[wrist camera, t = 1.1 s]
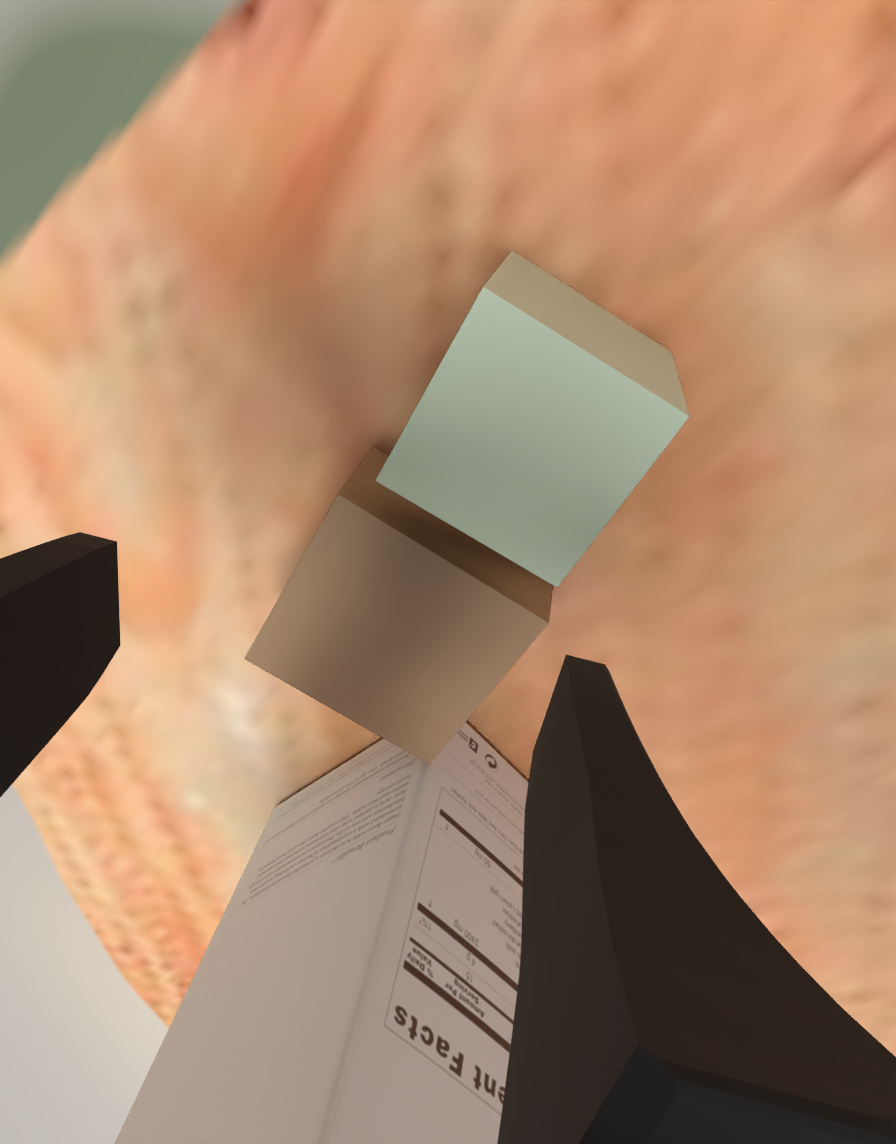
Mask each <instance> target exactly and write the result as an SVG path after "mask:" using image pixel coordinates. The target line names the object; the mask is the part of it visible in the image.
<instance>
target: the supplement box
mask: <svg viewBox="0 0 896 1144" xmlns="http://www.w3.org/2000/svg"><path fill="white" fill-rule="evenodd" d="M527 789H528V782H527V781H526V780H525V779H524V778H523V777H522V776H521V775H520V774H519V773H518V772H517V771H516V770H515V769H514V768H513V767H512V766H511V765H510V764H509V763H508V762H507V761H506V760H505V759H504V758H503V757H501V756H500V755H499V754H498V753H497V752H496V751H495V750H494V749H493V748H492V747H491V746H490V745H489V744H488V743H487V742H486V741H485V740H484V739H483V738H482V737H481V736H480V735H479V734H478V733H477V732H476V731H475V730H474V729H473V728H471V727H470V726H469V725H468V724H467V723H466V722H465V723H464V724H463V726H462V727H461V728H460V729H459V730H458V732H457V733H456V734H455V735H454V736H453V738H452V739H451V740H450V741H449V742H448V744H447V745H446V746H445V747H444V748H443V749H442V751H441V752H440V753H439V754H438V755H437V757H436V758H435V759H434V760H433V761H432V763H431V764H430V765H429V764H427V763H426V762H424V761H422V760H420V759H419V758H417V757H415V756H413V755H412V754H410V753H408V752H406V751H405V750H403V749H401V748H399V747H398V746H396V745H394V744H392V743H391V742H389V741H387V740H385V739H384V738H383V739H382V740H380V741H379V742H377V743H376V744H374V745H372V746H371V747H369V748H368V749H366V750H364V751H363V752H361V753H360V754H358V755H357V756H355V757H353V758H352V759H350V760H349V761H347V762H345V763H344V764H342V765H341V766H339V767H338V768H336V769H334V770H333V771H331V772H330V773H328V774H326V775H325V776H323V777H322V778H320V779H319V780H317V781H315V782H314V783H312V784H311V785H309V786H308V787H306V788H304V789H303V790H301V791H300V792H298V793H297V794H295V795H293V796H292V797H290V798H289V799H287V800H286V801H284V802H283V803H281V804H279V805H278V806H277V807H276V808H274V810H273V812H272V814H271V816H270V818H269V820H268V822H267V824H266V827H265V829H264V831H263V833H262V835H261V837H260V839H259V841H258V843H257V845H256V847H255V850H254V852H253V854H252V856H251V858H250V860H249V862H248V864H247V866H246V868H245V870H244V873H243V875H242V877H241V879H240V881H239V883H238V885H237V887H236V889H235V891H234V893H233V896H232V898H231V900H230V902H229V904H228V906H227V908H226V910H225V912H224V914H223V916H222V919H221V921H220V923H219V925H218V927H217V929H216V931H215V933H214V935H213V937H212V939H211V942H210V944H209V946H208V948H207V950H206V952H205V954H204V956H203V958H202V961H201V963H200V965H199V967H198V969H197V971H196V973H195V975H194V977H193V979H192V982H191V984H190V986H189V988H188V990H187V992H186V994H185V996H184V998H183V1000H182V1002H181V1005H180V1007H179V1009H178V1011H177V1013H176V1015H175V1017H174V1020H173V1022H172V1024H171V1026H170V1028H169V1030H168V1032H167V1034H166V1036H165V1038H164V1041H163V1043H162V1045H161V1047H160V1049H159V1051H158V1053H157V1055H156V1057H155V1060H154V1061H153V1064H152V1066H151V1068H150V1070H149V1072H148V1074H147V1076H146V1078H145V1080H144V1083H143V1085H142V1087H141V1089H140V1091H139V1093H138V1095H137V1098H136V1100H135V1102H134V1104H133V1106H132V1108H131V1110H130V1113H129V1114H128V1116H127V1119H126V1121H125V1123H124V1125H123V1127H122V1129H121V1131H120V1133H119V1135H118V1137H117V1140H116V1142H115V1144H497V1142H498V1135H499V1128H500V1121H501V1114H502V1106H503V1099H504V1091H505V1084H506V1076H507V1069H508V1061H509V1053H510V1046H511V1038H512V1030H513V1022H514V1013H515V1005H516V997H517V989H518V981H519V971H520V955H521V934H522V891H523V850H524V816H525V804H526V797H527Z"/></svg>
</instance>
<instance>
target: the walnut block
mask: <svg viewBox="0 0 896 1144" xmlns="http://www.w3.org/2000/svg"><path fill="white" fill-rule="evenodd" d="M388 457H389V456H388V455H387V454H385V453H384V452H382V451H380V450H379V449H377V448H376V447H374V446H373V447H372V448H371V450H370V451H369V453H368V454H367V455H366V457H365V458H364V459H363V461H362V462H361V463H360V465H359V466H358V468H357V469H356V470H355V472H354V473H353V474H352V476H351V477H350V479H349V480H348V481H347V483H346V484H345V485H344V487H343V488H342V490H341V491H340V492H339V494H338V495H337V497H336V499H335V500H334V502H333V504H332V506H331V507H330V509H329V511H328V513H327V514H326V516H325V518H324V520H323V522H322V523H321V525H320V527H319V529H318V530H317V532H316V534H315V536H314V537H313V539H312V541H311V543H310V544H309V546H308V548H307V550H306V551H305V553H304V555H303V557H302V558H301V560H300V562H299V564H298V565H297V567H296V569H295V571H294V572H293V574H292V576H291V578H290V579H289V581H288V583H287V585H286V586H285V588H284V590H283V592H282V593H281V595H280V597H279V599H278V600H277V602H276V604H275V606H274V607H273V609H272V611H271V613H270V614H269V616H268V618H267V620H266V621H265V623H264V625H263V627H262V628H261V630H260V632H259V634H258V636H257V637H256V639H255V641H254V643H253V644H252V646H251V648H250V650H249V651H248V653H247V655H246V657H245V658H244V659H245V660H247V661H249V662H251V663H252V664H254V665H256V666H258V667H259V668H261V669H263V670H265V671H266V672H268V673H270V674H272V675H273V676H275V677H277V678H279V679H280V680H282V681H284V682H286V683H287V684H289V685H291V686H293V687H294V688H296V689H298V690H300V691H301V692H303V693H305V694H307V695H308V696H310V697H312V698H314V699H315V700H317V701H319V702H321V703H322V704H324V705H326V706H328V707H329V708H331V709H333V710H335V711H336V712H338V713H340V714H342V715H343V716H345V717H347V718H349V719H350V720H352V721H354V722H356V723H357V724H359V725H361V726H363V727H364V728H366V729H368V730H370V731H371V732H373V733H375V734H377V735H378V736H380V737H382V738H384V739H385V740H387V741H389V742H391V743H392V744H394V745H396V746H398V747H399V748H401V749H403V750H405V751H406V752H408V753H410V754H412V755H413V756H415V757H417V758H419V759H420V760H422V761H424V762H426V763H427V764H429V765H430V764H431V763H432V761H433V760H434V759H435V758H436V757H437V755H438V754H439V753H440V752H441V751H442V749H443V748H444V747H445V746H446V745H447V744H448V742H449V741H450V740H451V739H452V738H453V736H454V735H455V734H456V733H457V732H458V730H459V729H460V728H461V727H462V726H463V724H464V723H465V722H466V721H467V720H468V718H469V717H470V716H471V715H472V714H473V713H474V711H475V710H476V709H477V708H478V707H479V705H480V704H481V703H482V702H483V701H484V699H485V698H486V697H487V696H488V695H489V693H490V692H491V691H492V690H493V689H494V687H495V686H496V685H497V684H498V683H499V682H500V680H501V679H502V678H503V677H504V676H505V674H506V673H507V672H508V671H509V670H510V668H511V667H512V666H513V665H514V664H515V662H516V661H517V660H518V659H519V658H520V656H521V655H522V654H523V653H524V652H525V651H526V649H527V648H528V647H529V646H530V645H531V643H532V642H533V641H534V640H535V639H536V637H537V636H538V635H539V634H540V633H541V631H542V630H543V629H544V628H545V627H546V626H547V624H548V623H549V616H550V608H551V599H552V591H553V585H552V584H550V583H549V582H547V581H545V580H544V579H542V578H540V577H538V576H537V575H535V574H533V573H532V572H530V571H528V570H527V569H525V568H523V567H521V566H520V565H518V564H516V563H515V562H513V561H511V560H510V559H508V558H506V557H504V556H503V555H501V554H499V553H498V552H496V551H494V550H493V549H491V548H489V547H487V546H486V545H484V544H482V543H481V542H479V541H477V540H475V539H474V538H472V537H470V536H469V535H467V534H465V533H464V532H462V531H460V530H458V529H457V528H455V527H453V526H452V525H450V524H448V523H447V522H445V521H443V520H441V519H440V518H438V517H436V516H435V515H433V514H431V513H430V512H428V511H426V510H424V509H423V508H421V507H419V506H418V505H416V504H414V503H413V502H411V501H409V500H407V499H406V498H404V497H402V496H401V495H399V494H397V493H396V492H394V491H392V490H390V489H389V488H387V487H385V486H384V485H382V484H380V483H378V482H377V481H375V480H376V479H377V477H378V475H379V473H380V471H381V470H382V468H383V466H384V464H385V462H386V461H387V459H388Z"/></svg>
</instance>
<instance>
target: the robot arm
mask: <svg viewBox="0 0 896 1144" xmlns="http://www.w3.org/2000/svg"><path fill="white" fill-rule="evenodd" d="M119 646H120V622H119V592H118V562H117V542H116V541H112V540H108V539H104V538H100V537H96V536H93V535H89V534H85V533H81V532H79V533H76V534H72V535H68V536H65V537H61V538H58V539H55V540H52V541H49V542H46V543H43V544H40V545H37V546H34V547H32V548H29V549H26V550H23V551H20V552H18V553H15V554H12V555H9V556H7V557H4V558H1V559H0V797H1V796H2V794H4V792H5V791H6V790H7V789H8V788H9V787H10V786H11V784H12V783H13V782H14V781H15V780H16V779H17V778H18V776H19V775H20V774H21V773H22V772H23V771H24V770H25V768H26V767H27V766H28V765H29V764H30V763H31V762H32V760H33V759H34V758H35V757H36V756H37V755H38V754H39V752H40V751H41V750H42V749H43V748H44V747H45V745H46V744H47V743H48V742H49V741H50V740H51V739H52V737H53V736H54V735H55V734H56V733H57V732H58V731H59V729H60V728H61V727H62V726H63V725H64V724H65V722H66V721H67V720H68V719H69V718H70V716H71V715H72V714H73V713H74V712H75V711H76V709H77V708H78V707H79V706H80V705H81V703H82V702H83V701H84V700H85V699H86V697H87V696H88V695H89V693H90V692H91V690H92V689H93V687H94V686H95V684H96V683H97V681H98V680H99V678H100V677H101V675H102V674H103V672H104V671H105V669H106V668H107V666H108V664H109V663H110V661H111V659H112V658H113V656H114V655H115V653H116V651H117V650H118V648H119ZM497 1144H896V1057H895V1056H894V1055H893V1054H892V1053H890V1052H889V1051H888V1050H887V1049H886V1048H885V1047H884V1046H883V1045H882V1044H881V1043H880V1042H878V1041H877V1040H876V1039H875V1038H874V1037H873V1036H872V1035H871V1034H870V1033H869V1032H867V1031H866V1030H865V1029H864V1028H863V1027H862V1026H861V1025H860V1024H859V1023H858V1022H857V1021H855V1020H854V1019H853V1018H852V1017H851V1016H850V1015H849V1014H848V1013H847V1012H846V1011H845V1010H844V1009H843V1008H842V1007H841V1006H840V1005H839V1004H837V1003H836V1002H835V1000H834V999H833V998H832V997H831V996H830V995H829V994H828V993H827V992H826V991H825V990H824V989H823V988H822V987H821V986H820V985H819V984H818V983H817V982H816V981H815V980H814V979H813V978H812V977H811V976H810V975H809V974H808V973H807V972H806V971H805V970H804V969H803V968H802V967H801V966H800V965H799V964H798V963H797V961H796V960H795V959H794V958H793V957H792V956H791V955H790V954H789V953H788V952H787V950H786V949H785V948H784V947H783V946H782V945H781V944H780V943H779V942H778V941H777V940H776V938H775V937H774V936H773V935H772V934H771V933H770V932H769V930H768V929H767V928H766V927H765V926H764V924H763V923H762V922H761V921H760V920H759V919H758V917H757V916H756V915H755V914H754V913H753V911H752V910H751V909H750V908H749V907H748V905H747V904H746V903H745V902H744V901H743V900H742V898H741V897H740V896H739V895H738V893H737V892H736V891H735V890H734V888H733V887H732V886H731V885H730V883H729V882H728V881H727V879H726V878H725V877H724V876H723V874H722V873H721V872H720V870H719V869H718V867H717V866H716V865H715V863H714V862H713V860H712V859H711V858H710V856H709V855H708V853H707V852H706V851H705V849H704V848H703V846H702V845H701V844H700V842H699V841H698V840H697V838H696V837H695V835H694V834H693V832H692V831H691V829H690V828H689V826H688V824H687V823H686V821H685V820H684V818H683V816H682V815H681V813H680V811H679V810H678V808H677V806H676V805H675V803H674V801H673V800H672V798H671V796H670V795H669V793H668V791H667V790H666V788H665V786H664V784H663V782H662V781H661V779H660V777H659V775H658V774H657V772H656V770H655V768H654V766H653V764H652V762H651V760H650V758H649V756H648V754H647V752H646V751H645V749H644V747H643V745H642V743H641V741H640V739H639V737H638V735H637V733H636V731H635V729H634V726H633V724H632V722H631V720H630V718H629V716H628V713H627V711H626V709H625V707H624V705H623V702H622V700H621V698H620V695H619V693H618V691H617V689H616V686H615V684H614V681H613V679H612V677H611V674H610V672H609V670H608V669H607V667H606V665H605V664H601V663H597V662H593V661H589V660H585V659H581V658H577V657H573V656H569V655H566V657H565V660H564V662H563V665H562V668H561V671H560V674H559V677H558V680H557V683H556V686H555V689H554V692H553V695H552V698H551V701H550V704H549V706H548V709H547V712H546V715H545V718H544V721H543V724H542V727H541V730H540V733H539V736H538V739H537V742H536V745H535V748H534V750H533V756H532V763H531V769H530V776H529V782H528V789H527V797H526V804H525V816H524V850H523V891H522V934H521V955H520V971H519V981H518V989H517V997H516V1005H515V1013H514V1022H513V1030H512V1038H511V1046H510V1053H509V1061H508V1069H507V1076H506V1084H505V1091H504V1099H503V1106H502V1114H501V1121H500V1128H499V1135H498V1142H497Z"/></svg>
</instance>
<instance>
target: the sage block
mask: <svg viewBox="0 0 896 1144" xmlns="http://www.w3.org/2000/svg"><path fill="white" fill-rule="evenodd" d="M689 417H690V416H689V412H688V409H687V405H686V402H685V398H684V394H683V391H682V387H681V384H680V380H679V376H678V373H677V369H676V366H675V362H674V359H673V355H672V352H671V351H670V350H668V349H666V348H665V347H663V346H662V345H660V344H658V343H657V342H655V341H654V340H652V339H651V338H649V337H647V336H646V335H644V334H643V333H641V332H640V331H638V330H636V329H635V328H633V327H632V326H630V325H629V324H627V323H625V322H624V321H622V320H621V319H619V318H618V317H616V316H614V315H613V314H611V313H610V312H608V311H607V310H605V309H603V308H602V307H600V306H599V305H597V304H596V303H594V302H592V301H591V300H589V299H588V298H586V297H585V296H583V295H581V294H580V293H578V292H577V291H575V290H574V289H572V288H570V287H569V286H567V285H566V284H564V283H563V282H561V281H559V280H558V279H556V278H555V277H553V276H552V275H550V274H548V273H547V272H545V271H544V270H542V269H541V268H539V267H537V266H536V265H534V264H533V263H531V262H530V261H528V260H526V259H525V258H523V257H522V256H520V255H519V254H517V253H515V252H514V251H511V252H510V254H509V255H508V256H507V257H506V259H505V260H504V261H503V262H502V264H501V265H500V266H499V268H498V269H497V270H496V271H495V273H494V274H493V275H492V276H491V278H490V279H489V280H488V281H487V283H486V284H485V285H484V286H483V288H482V290H481V292H480V293H479V295H478V297H477V299H476V301H475V302H474V304H473V306H472V308H471V310H470V311H469V313H468V315H467V317H466V319H465V320H464V322H463V324H462V326H461V328H460V329H459V331H458V333H457V335H456V337H455V338H454V340H453V342H452V344H451V346H450V347H449V349H448V351H447V353H446V355H445V356H444V358H443V360H442V362H441V364H440V365H439V367H438V369H437V371H436V373H435V374H434V376H433V378H432V380H431V382H430V383H429V385H428V387H427V389H426V391H425V392H424V394H423V396H422V398H421V400H420V401H419V403H418V405H417V407H416V409H415V410H414V412H413V414H412V416H411V418H410V419H409V421H408V423H407V425H406V427H405V428H404V430H403V432H402V434H401V436H400V437H399V439H398V441H397V443H396V444H395V446H394V448H393V450H392V452H391V453H390V455H389V457H388V459H387V461H386V462H385V464H384V466H383V468H382V470H381V471H380V473H379V475H378V477H377V479H376V480H375V481H377V482H378V483H380V484H382V485H384V486H385V487H387V488H389V489H390V490H392V491H394V492H396V493H397V494H399V495H401V496H402V497H404V498H406V499H407V500H409V501H411V502H413V503H414V504H416V505H418V506H419V507H421V508H423V509H424V510H426V511H428V512H430V513H431V514H433V515H435V516H436V517H438V518H440V519H441V520H443V521H445V522H447V523H448V524H450V525H452V526H453V527H455V528H457V529H458V530H460V531H462V532H464V533H465V534H467V535H469V536H470V537H472V538H474V539H475V540H477V541H479V542H481V543H482V544H484V545H486V546H487V547H489V548H491V549H493V550H494V551H496V552H498V553H499V554H501V555H503V556H504V557H506V558H508V559H510V560H511V561H513V562H515V563H516V564H518V565H520V566H521V567H523V568H525V569H527V570H528V571H530V572H532V573H533V574H535V575H537V576H538V577H540V578H542V579H544V580H545V581H547V582H549V583H550V584H552V585H554V586H555V587H558V586H559V585H560V583H561V582H562V581H563V580H564V578H565V577H566V576H567V574H568V573H569V572H570V570H571V569H572V568H573V567H574V565H575V564H576V563H577V561H578V560H579V559H580V558H581V556H582V555H583V554H584V552H585V551H586V550H587V548H588V547H589V546H590V545H591V543H592V542H593V541H594V539H595V538H596V537H597V536H598V534H599V533H600V532H601V530H602V529H603V528H604V526H605V525H606V524H607V523H608V521H609V520H610V519H611V517H612V516H613V515H614V514H615V512H616V511H617V510H618V508H619V507H620V506H621V504H622V503H623V502H624V501H625V499H626V498H627V497H628V495H629V494H630V493H631V492H632V490H633V489H634V488H635V486H636V485H637V484H638V482H639V481H640V480H641V479H642V477H643V476H644V475H645V473H646V472H647V471H648V470H649V468H650V467H651V466H652V464H653V463H654V462H655V461H656V459H657V458H658V457H659V455H660V454H661V453H662V451H663V450H664V449H665V448H666V446H667V445H668V444H669V442H670V441H671V440H672V439H673V437H674V436H675V435H676V433H677V432H678V431H679V429H680V428H681V427H682V426H683V424H684V423H685V422H686V420H687V419H688V418H689Z"/></svg>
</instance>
